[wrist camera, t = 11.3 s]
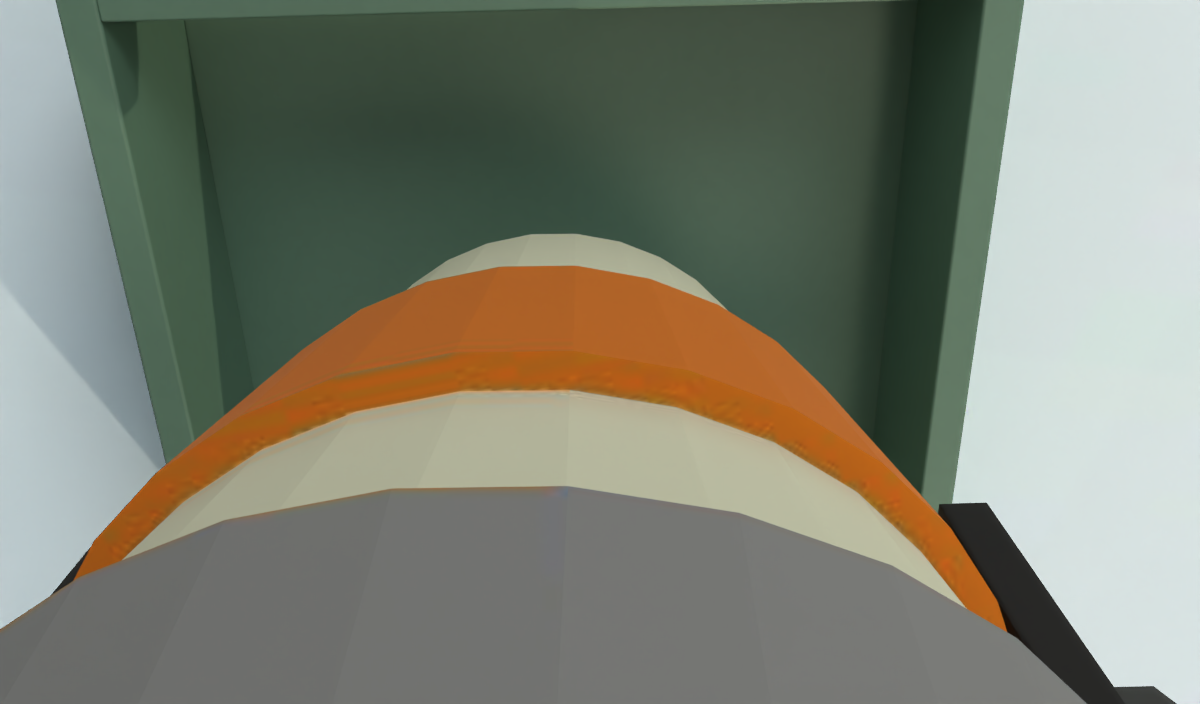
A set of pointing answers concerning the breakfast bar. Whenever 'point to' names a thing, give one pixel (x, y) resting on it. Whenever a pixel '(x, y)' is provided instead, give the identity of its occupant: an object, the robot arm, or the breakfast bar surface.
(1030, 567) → the robot arm
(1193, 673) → the breakfast bar surface
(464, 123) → the green square tray
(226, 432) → the reusable coffee cup
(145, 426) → the breakfast bar surface
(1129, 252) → the breakfast bar surface
